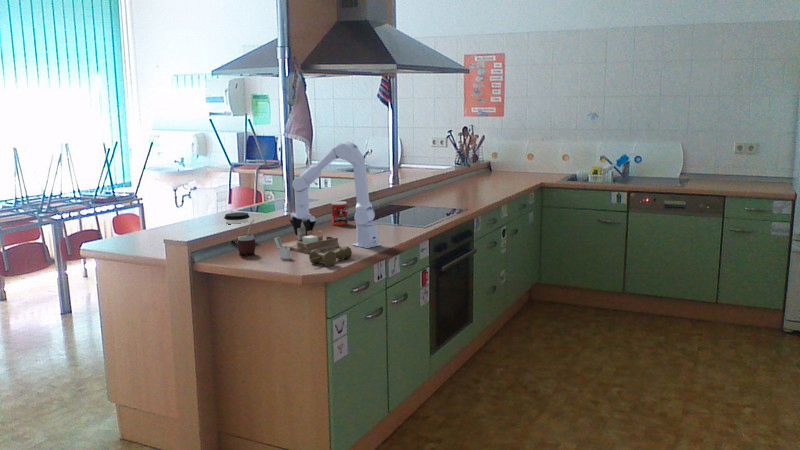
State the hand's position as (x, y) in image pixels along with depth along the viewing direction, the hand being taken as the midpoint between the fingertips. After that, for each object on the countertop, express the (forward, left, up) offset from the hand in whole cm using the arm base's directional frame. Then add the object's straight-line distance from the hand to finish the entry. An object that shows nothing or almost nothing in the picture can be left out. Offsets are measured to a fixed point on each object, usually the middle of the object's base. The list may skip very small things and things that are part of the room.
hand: (303, 236), depth 299 cm
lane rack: (-8, +4, -3) cm, 10 cm away
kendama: (-37, +17, -3) cm, 41 cm away
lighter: (-17, +24, -3) cm, 29 cm away
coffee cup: (+25, +16, -3) cm, 30 cm away
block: (-15, +8, -2) cm, 17 cm away
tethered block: (-5, 0, -1) cm, 5 cm away
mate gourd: (-2, +30, -3) cm, 30 cm away
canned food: (+20, -38, -3) cm, 44 cm away
